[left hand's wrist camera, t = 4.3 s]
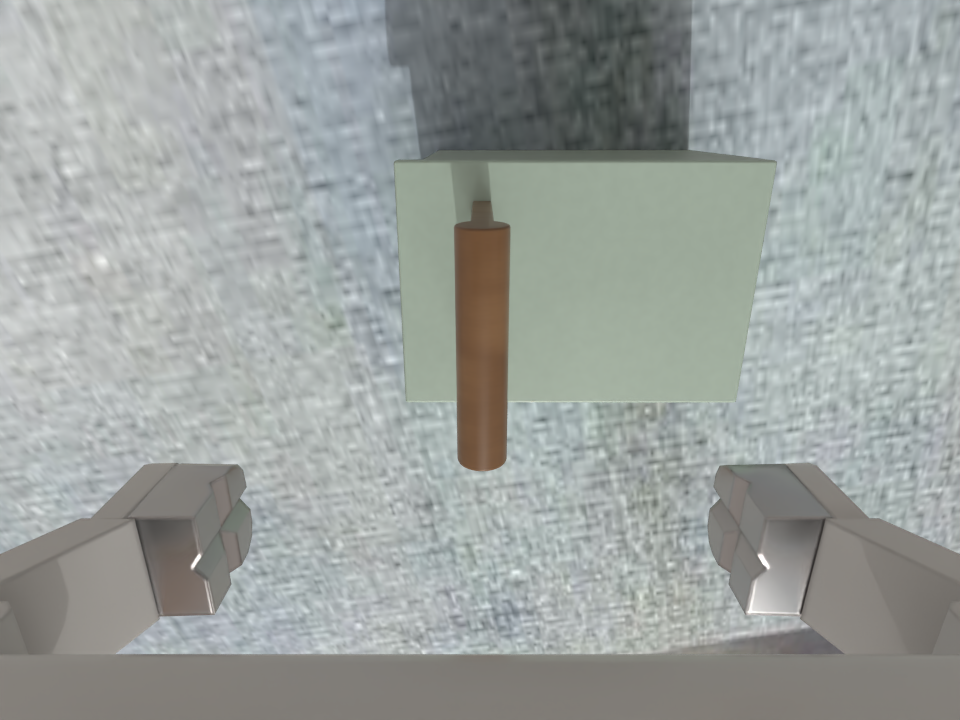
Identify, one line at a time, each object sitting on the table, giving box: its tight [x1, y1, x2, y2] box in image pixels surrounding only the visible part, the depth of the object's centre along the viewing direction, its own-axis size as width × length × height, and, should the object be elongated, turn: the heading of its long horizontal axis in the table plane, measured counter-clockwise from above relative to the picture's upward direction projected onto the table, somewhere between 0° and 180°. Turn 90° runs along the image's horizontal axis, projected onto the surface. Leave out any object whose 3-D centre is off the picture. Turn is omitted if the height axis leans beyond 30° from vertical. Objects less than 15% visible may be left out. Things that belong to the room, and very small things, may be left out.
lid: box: [394, 159, 777, 471], centre depth 20 cm, size 14×10×8 cm
